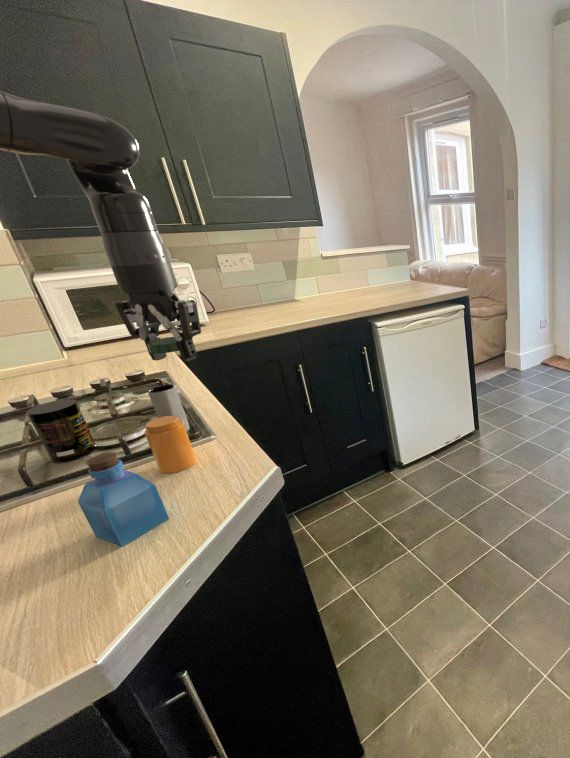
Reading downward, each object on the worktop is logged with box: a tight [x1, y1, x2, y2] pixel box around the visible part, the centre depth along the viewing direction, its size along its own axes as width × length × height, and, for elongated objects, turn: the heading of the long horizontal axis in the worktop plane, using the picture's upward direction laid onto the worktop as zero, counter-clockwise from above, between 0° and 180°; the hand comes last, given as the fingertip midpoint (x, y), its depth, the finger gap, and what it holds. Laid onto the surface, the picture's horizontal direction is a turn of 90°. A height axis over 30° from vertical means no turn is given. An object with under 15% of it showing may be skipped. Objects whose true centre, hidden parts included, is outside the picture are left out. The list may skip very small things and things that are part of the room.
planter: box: [147, 383, 191, 432], centre depth 89 cm, size 4×4×10 cm
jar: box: [143, 416, 197, 474], centre depth 77 cm, size 6×6×9 cm
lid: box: [147, 336, 180, 354], centre depth 73 cm, size 6×6×2 cm
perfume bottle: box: [77, 451, 170, 548], centre depth 60 cm, size 6×6×12 cm
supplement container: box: [26, 398, 97, 463], centre depth 81 cm, size 7×7×10 cm
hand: (174, 359), depth 74 cm, fingers closed on lid, 5 cm apart
